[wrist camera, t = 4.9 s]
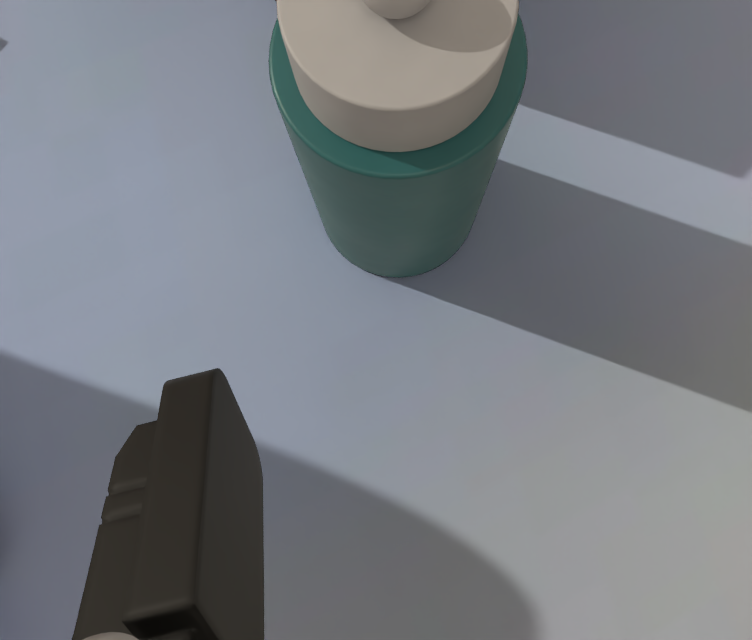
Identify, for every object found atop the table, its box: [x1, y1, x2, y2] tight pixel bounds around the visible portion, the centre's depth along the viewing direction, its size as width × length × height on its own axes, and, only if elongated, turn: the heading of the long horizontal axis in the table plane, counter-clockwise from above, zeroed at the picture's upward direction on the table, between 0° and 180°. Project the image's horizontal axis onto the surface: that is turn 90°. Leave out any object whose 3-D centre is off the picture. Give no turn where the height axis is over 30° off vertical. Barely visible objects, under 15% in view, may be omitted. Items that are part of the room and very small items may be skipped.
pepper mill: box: [269, 0, 527, 277], centre depth 16 cm, size 5×5×12 cm
